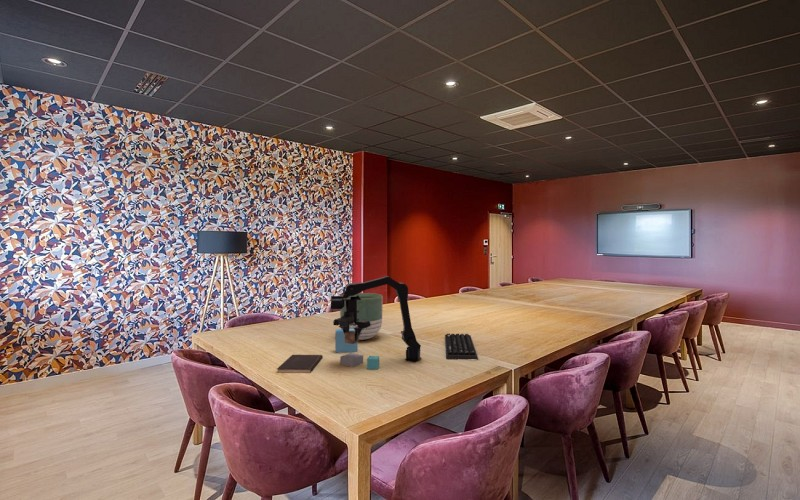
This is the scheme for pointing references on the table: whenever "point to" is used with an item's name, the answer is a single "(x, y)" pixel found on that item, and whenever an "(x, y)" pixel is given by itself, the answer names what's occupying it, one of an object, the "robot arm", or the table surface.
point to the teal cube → (373, 362)
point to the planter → (368, 313)
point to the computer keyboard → (459, 347)
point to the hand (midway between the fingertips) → (351, 340)
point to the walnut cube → (350, 337)
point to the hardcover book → (300, 363)
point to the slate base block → (351, 359)
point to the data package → (343, 342)
